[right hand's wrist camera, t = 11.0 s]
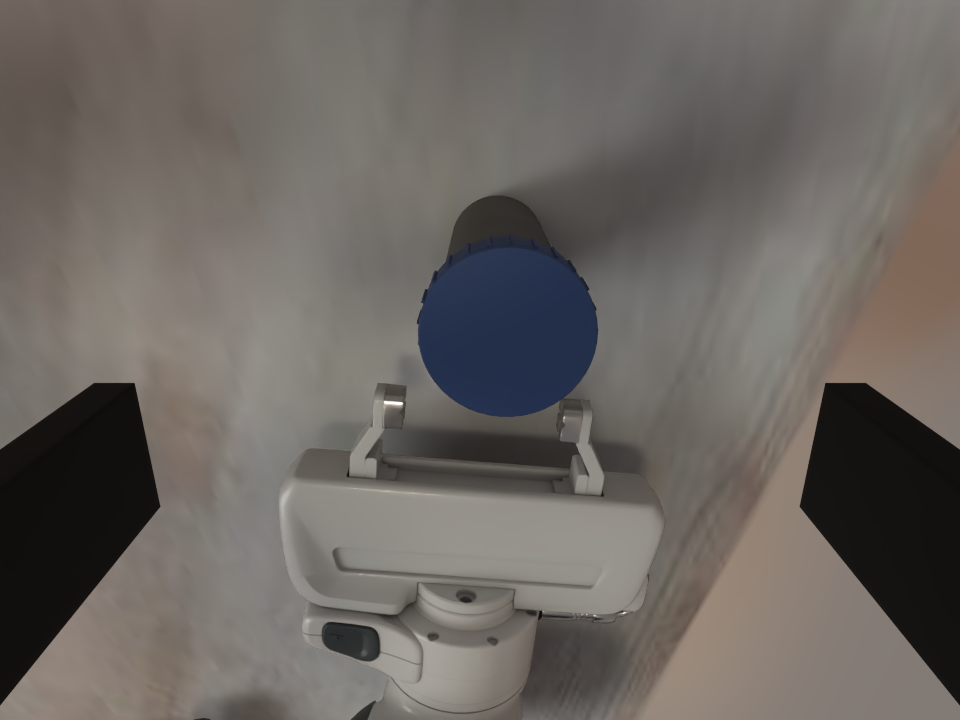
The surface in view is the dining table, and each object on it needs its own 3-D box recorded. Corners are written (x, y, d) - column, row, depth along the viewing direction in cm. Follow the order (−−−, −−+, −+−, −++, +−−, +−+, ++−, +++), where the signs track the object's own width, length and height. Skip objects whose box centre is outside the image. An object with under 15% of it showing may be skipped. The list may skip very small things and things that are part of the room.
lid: (621, 341, 23) (633, 360, 21) (481, 424, 24) (481, 449, 23) (533, 198, 21) (538, 206, 20) (387, 295, 23) (379, 311, 21)
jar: (559, 255, 36) (610, 352, 22) (484, 302, 37) (485, 425, 23) (511, 176, 35) (532, 226, 20) (433, 229, 36) (401, 311, 21)
